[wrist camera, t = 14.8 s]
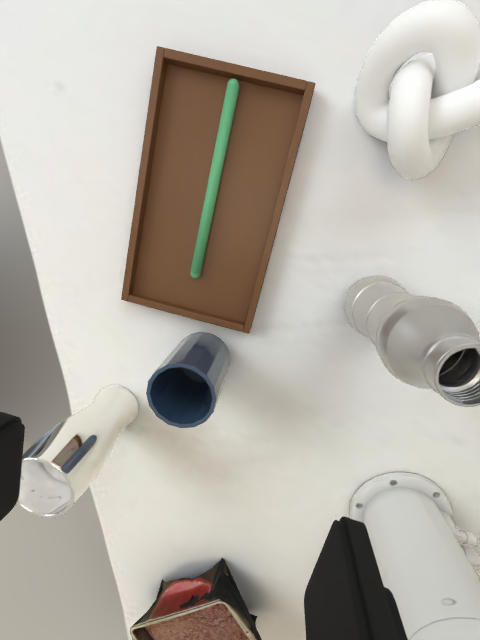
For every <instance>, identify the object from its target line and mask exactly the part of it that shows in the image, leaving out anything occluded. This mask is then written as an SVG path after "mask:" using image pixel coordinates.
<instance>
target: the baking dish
mask: <svg viewBox="0 0 480 640" xmlns="http://www.w3.org/2000/svg"><path fill="white" fill-rule="evenodd" d="M256 618H257V616H254V615H252V614H250V613H249V612H248V609H247V607H246V605H245V603H244V601H243V599H242V596H241V594H240V592H239V590H238V588H237V586H236V583H235V581H234V579H233V577H232V575H231V573H230V571H229V569H228V567H227V565H226V563H225V561H224V559H223V558H222V559H221V561H220V562H218V563H217V564H216V565H215V566H214V567H213V568H212V569H210V570H209V571H207V572H205V573H204V574H202V575H201V576H199V577H197V578H196V579H194V580H192V579H191V578H182V579H179V580H176V581H171V582H165V581H164V580H163V579H162V582H161V585H160V588H159V592H158V595H157V599H156V601H155V602H154V603H153V605H152V606H151V607H150V609H149V610H148V611H147V612H146V613H145V614H144V615H143V616H142V617H141V618H140V619H139V620H138V621H137V622H136V623H135V624H134V625H133V626H132V627H131V629H130V634H131V636H132V639H133V640H261V637H260V635H259V633H258V631H257V629H256V625H255V622H256Z"/></svg>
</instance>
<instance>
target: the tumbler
mask: <svg viewBox="0 0 480 640" xmlns="http://www.w3.org/2000/svg"><path fill="white" fill-rule="evenodd" d="M229 365H230V354H229V351H228V348H227V347H226V345H225V344H224V342H223V341H222V340H221V339H219V338H218V337H216V336H215V335H213V334H210V333H204V332H198V333H194V334H191V335H189V336H187V337H186V338H185V339H183V340H182V341H181V342H180V344H179V345H178V346H177V347H176V348H175V349H174V351H173V352H172V353H171V354H170V355H169V356H168V357H167V359H166V360H165V361H164V362H163V363H162V364H161V365H160V367H159V368H158V369H157V370H156V371H155V373H154V374H153V375H152V377H151V378H150V380H149V381H148V386H147V392H146V394H147V398H148V402H149V406H150V407H151V409H152V410H153V412H154V413H155V415H156V416H157V417H158V418H160V419H161V420H163V421H164V422H165V423H167V424H169V425H172V426H176V427H179V428H189V427H195V426H197V425H199V424H202V423H204V422H205V421H206V420H207V419H208V418H209V417H210V416H211V414H212V413H213V412H214V409H215V406H216V403H217V401H218V398H219V395H220V392H221V389H222V386H223V384H224V381H225V378H226V375H227V372H228V368H229Z"/></svg>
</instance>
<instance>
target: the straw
mask: <svg viewBox="0 0 480 640" xmlns="http://www.w3.org/2000/svg"><path fill="white" fill-rule="evenodd" d="M238 92H239V82H238V81H237V80H236V79H230V80H229V81H228V84H227V89H226V94H225V99H224V104H223V109H222V114H221V119H220V124H219V129H218V134H217V139H216V144H215V149H214V154H213V159H212V165H211V170H210V175H209V180H208V185H207V190H206V195H205V200H204V205H203V210H202V215H201V220H200V225H199V230H198V235H197V241H196V246H195V251H194V256H193V261H192V266H191V271H190V275H191V276H192V277H193V278H198V277H200V275H201V270H202V266H203V261H204V256H205V251H206V246H207V241H208V237H209V232H210V227H211V222H212V217H213V212H214V208H215V203H216V198H217V193H218V188H219V183H220V179H221V174H222V169H223V164H224V159H225V154H226V150H227V145H228V140H229V135H230V130H231V126H232V121H233V116H234V111H235V106H236V101H237V97H238Z"/></svg>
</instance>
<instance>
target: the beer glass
mask: <svg viewBox="0 0 480 640" xmlns="http://www.w3.org/2000/svg"><path fill="white" fill-rule="evenodd" d="M138 409H139V408H138V402H137V400H136V398H135V396H134V395H133V394H132V393H131V392H130V391H129V390H127V389H126V388H124V387H121V386H117V385H110V386H106V387H104V388H102V389H101V390H100V391H99V392H98V393H97V395H96V396H95V398H94V399H93V401H92V402H91V403H90V404H89V405H88V406H87V407H85V408H84V409H82V410H81V411H79V412H77V413H75V414H73V415H72V416H70V417H68V418H67V419H65V420H63V421H62V422H60V423H59V424H57V425H56V426H54V427H53V428H52V429H50V430H49V431H48V432H47V433H46V434H44V435H43V436H42V437H41V438H40V439H39V440H37V441H36V442H35V443H34V444H33V445H32V446H31V447H30V448H29V449H28V450H27V451H26V452H25V453H24V454H23V456H22V467H21V480H20V492H19V498H18V501H17V504H18V505H19V506H20V507H22V508H23V509H24V510H26V511H27V512H29V513H31V514H33V515H36V516H39V517H45V518H54V517H58V516H61V515H63V514H65V513H66V512H67V511H68V510H69V509H70V508H71V507H72V505H73V504H74V503H75V502H76V501H77V500H78V498H79V497H80V496H81V495H82V494H83V493H84V492H85V491H86V489H87V488H88V487H89V486H90V485H91V483H92V482H93V481H94V479H95V478H96V477H97V475H98V474H99V472H100V471H101V470H102V468H103V466H104V465H105V463H106V461H107V459H108V457H109V455H110V453H111V451H112V449H113V447H114V445H115V442H116V440H117V438H118V436H119V434H120V433H121V431H122V430H123V429H124V428H125V427H127V426H128V425H129V424H130V423H132V422H133V421H134V420H135V418H136V417H137V414H138Z"/></svg>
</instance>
